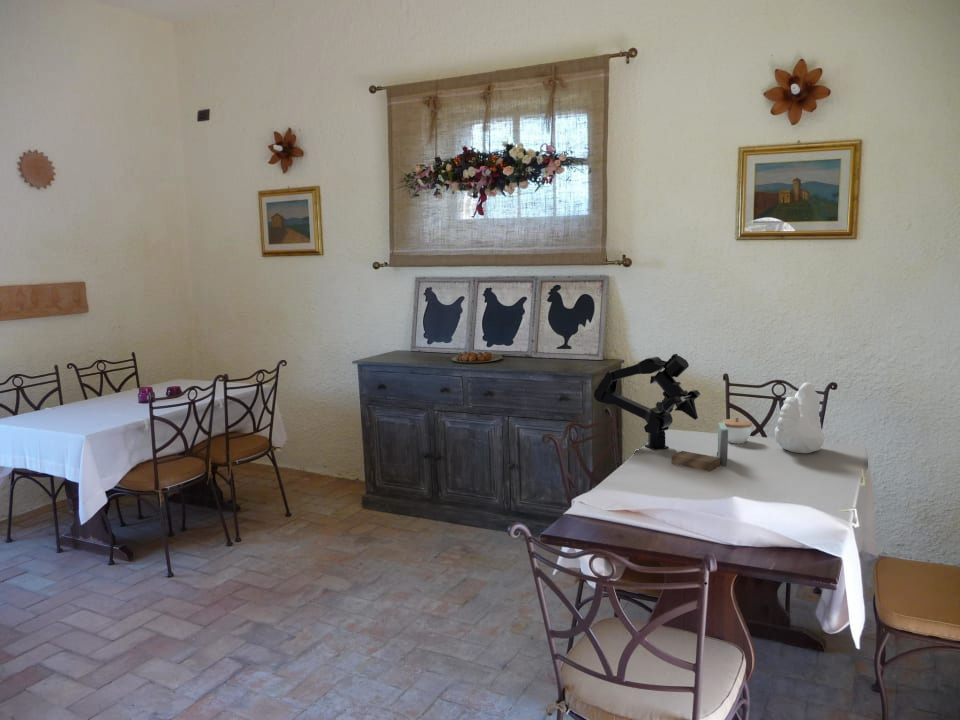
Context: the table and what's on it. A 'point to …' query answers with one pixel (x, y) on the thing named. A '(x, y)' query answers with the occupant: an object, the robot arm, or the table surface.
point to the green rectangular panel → (722, 443)
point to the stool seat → (695, 460)
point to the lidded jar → (738, 430)
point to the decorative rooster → (800, 422)
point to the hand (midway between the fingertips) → (696, 418)
